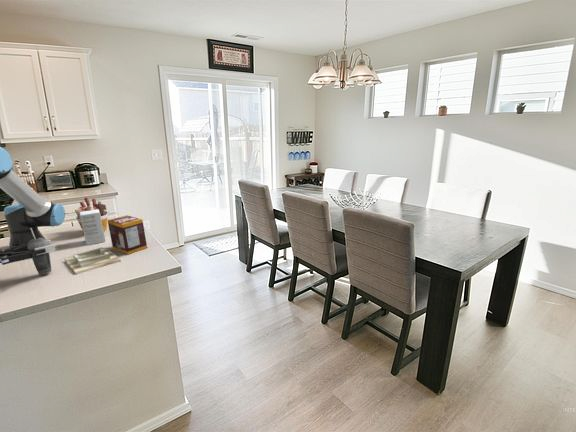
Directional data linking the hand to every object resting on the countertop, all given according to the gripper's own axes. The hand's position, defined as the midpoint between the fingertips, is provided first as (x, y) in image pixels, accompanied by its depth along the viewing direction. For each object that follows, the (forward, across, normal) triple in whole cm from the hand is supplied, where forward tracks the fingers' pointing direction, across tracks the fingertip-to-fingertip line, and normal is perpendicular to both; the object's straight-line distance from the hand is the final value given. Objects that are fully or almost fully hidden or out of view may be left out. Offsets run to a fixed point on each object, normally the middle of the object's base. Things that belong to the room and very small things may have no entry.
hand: (52, 245), depth 133 cm
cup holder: (+13, 0, -12) cm, 18 cm away
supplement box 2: (+31, -4, -12) cm, 34 cm away
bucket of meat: (+27, -50, -13) cm, 58 cm away
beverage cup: (-5, 0, -11) cm, 12 cm away
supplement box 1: (+22, -30, -12) cm, 39 cm away
